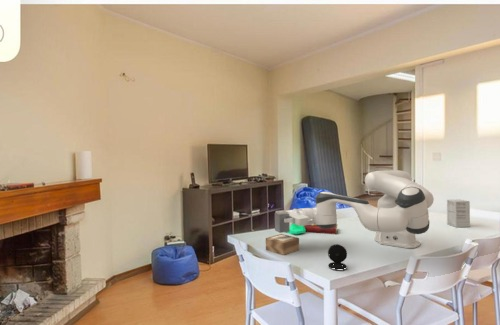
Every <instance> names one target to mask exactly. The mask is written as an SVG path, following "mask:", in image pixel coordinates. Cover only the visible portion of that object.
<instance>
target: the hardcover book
mask: <svg viewBox="0 0 500 325" xmlns="http://www.w3.org/2000/svg"><path fill="white" fill-rule="evenodd" d="M304 227H305V230H306V232H305V233H310V234H311V233H313V234H314V233H315V234H329V235H337V232H338V231H337V230H338V223H337V224H336V225H335V226H334V227H333V228H327V229H321V228H320V227H318V226H317V225H316V224H311V225H304Z"/></svg>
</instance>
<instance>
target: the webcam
mask: <svg viewBox="0 0 500 325" xmlns="http://www.w3.org/2000/svg"><path fill="white" fill-rule="evenodd" d="M327 250H328V251H327V256H328V259H329V260H330V261H332V262H329V263H328V268H329V267H331V268H335V269H344V268H346V267H348V266H347V264H345V263H343V262H344V261H345V260H346V259H347V256H348V252H347V249H346V248H345V246H343V245H341V244H338V243H337V244H333V245H332V244H331V246H330V247H329V248H328V249H327ZM333 264H334V266H332V265H333ZM341 265H343V267H342V266H341ZM346 269H347V268H346Z"/></svg>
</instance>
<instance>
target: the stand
mask: <svg viewBox="0 0 500 325" xmlns="http://www.w3.org/2000/svg"><path fill="white" fill-rule="evenodd" d="M265 250H266V251H269V252H272V253H275V254H278V255H281V256H285V255H289V254H291V253H294V252H297V251H299V250H300V238H299V237H297V236H296V237H295V236H292V235H288V234H283V233H279V234H276V235H272V236H269V237H265Z"/></svg>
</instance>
